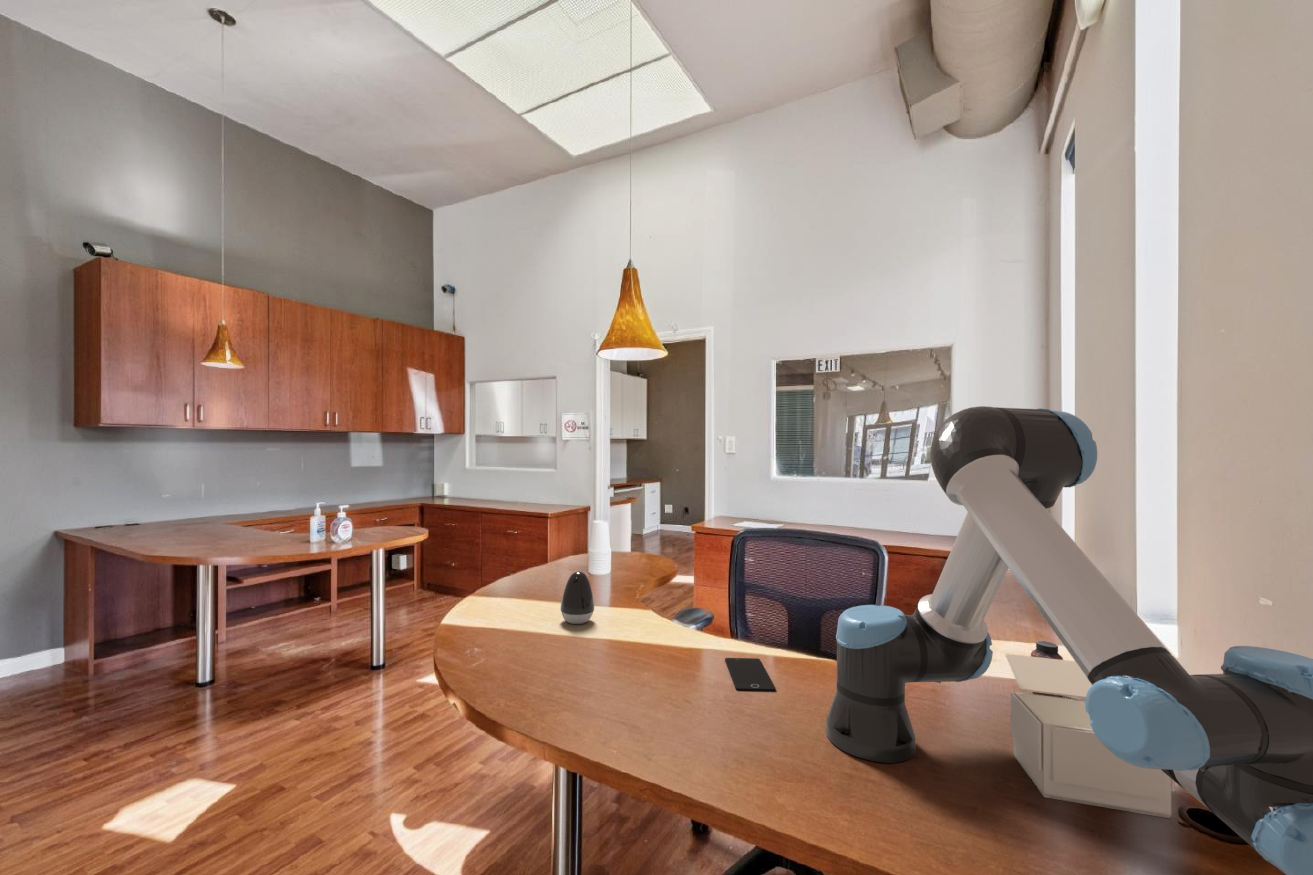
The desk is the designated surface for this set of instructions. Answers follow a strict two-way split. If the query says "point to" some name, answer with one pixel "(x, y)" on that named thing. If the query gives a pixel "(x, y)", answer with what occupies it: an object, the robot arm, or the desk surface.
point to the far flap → (1049, 676)
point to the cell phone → (749, 675)
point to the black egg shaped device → (577, 599)
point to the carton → (1080, 759)
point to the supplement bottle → (1046, 651)
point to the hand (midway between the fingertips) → (1095, 683)
